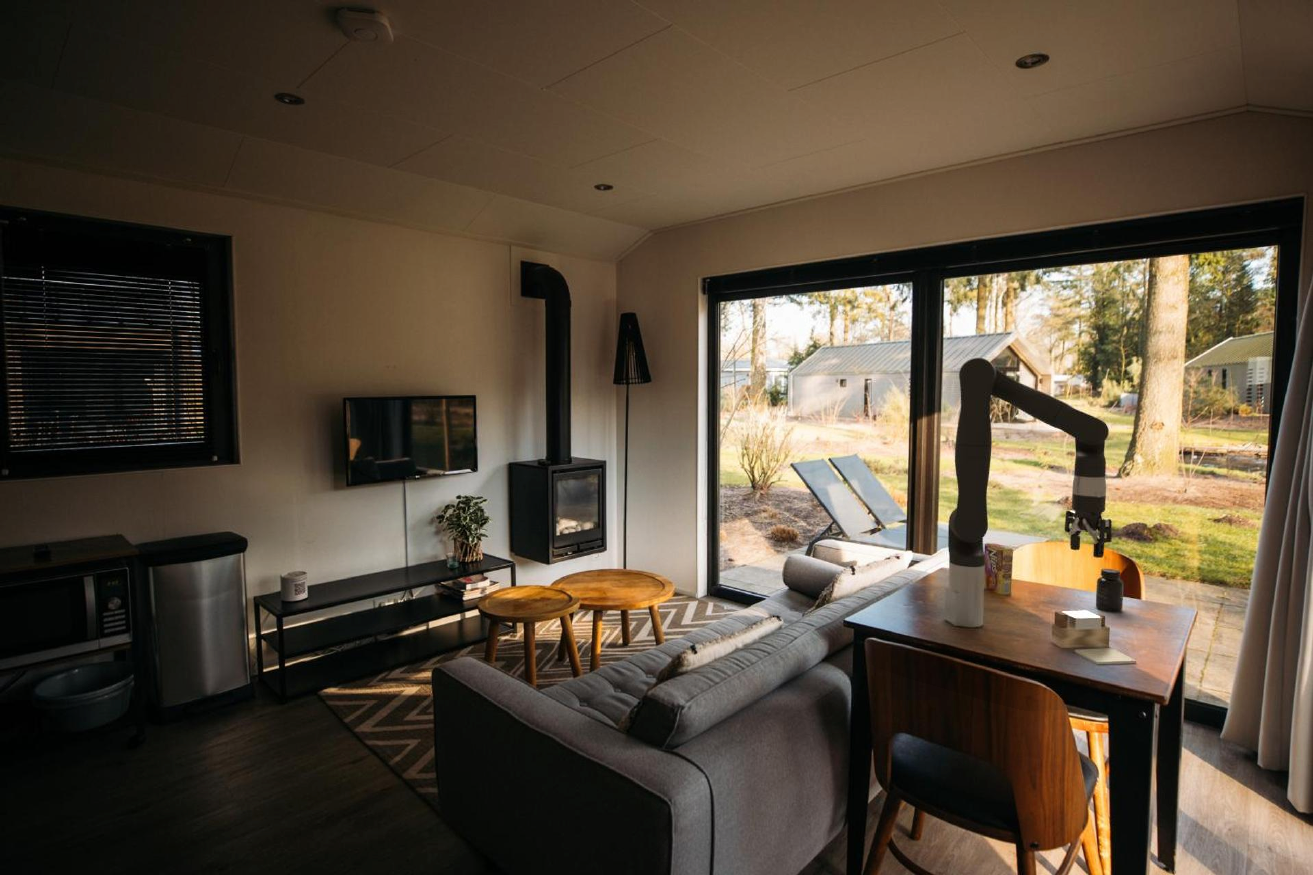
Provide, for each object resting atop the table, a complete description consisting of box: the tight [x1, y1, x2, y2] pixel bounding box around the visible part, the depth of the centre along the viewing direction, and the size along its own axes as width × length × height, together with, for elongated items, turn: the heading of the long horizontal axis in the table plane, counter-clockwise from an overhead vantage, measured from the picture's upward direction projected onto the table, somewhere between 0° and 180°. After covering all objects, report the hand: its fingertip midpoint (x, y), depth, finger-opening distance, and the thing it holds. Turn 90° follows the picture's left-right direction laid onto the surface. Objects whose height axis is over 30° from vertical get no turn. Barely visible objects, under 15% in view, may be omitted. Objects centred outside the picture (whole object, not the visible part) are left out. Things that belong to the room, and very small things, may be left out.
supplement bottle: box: [1095, 568, 1124, 613], centre depth 210 cm, size 7×7×12 cm
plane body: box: [1051, 610, 1111, 649], centre depth 181 cm, size 13×4×8 cm, turn 95°
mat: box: [1074, 648, 1137, 665], centre depth 172 cm, size 10×8×1 cm
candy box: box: [984, 542, 1014, 596], centre depth 229 cm, size 9×4×15 cm, turn 13°
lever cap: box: [1061, 610, 1101, 630], centre depth 181 cm, size 7×6×3 cm
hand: (1086, 553), depth 184 cm, fingers open, 8 cm apart
